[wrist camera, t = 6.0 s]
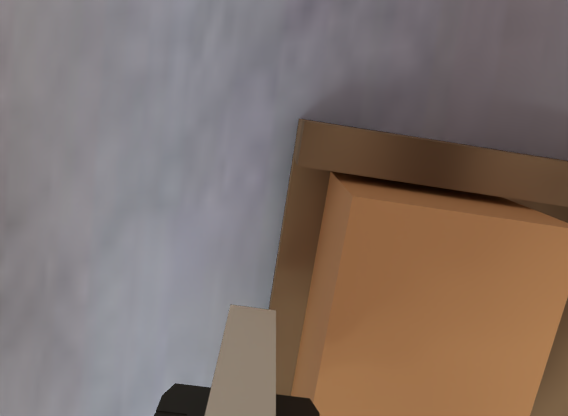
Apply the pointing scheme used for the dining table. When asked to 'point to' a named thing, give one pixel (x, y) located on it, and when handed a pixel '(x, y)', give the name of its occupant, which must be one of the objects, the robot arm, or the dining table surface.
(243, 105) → the dining table surface
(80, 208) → the dining table surface
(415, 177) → the walnut chute
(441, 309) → the block
